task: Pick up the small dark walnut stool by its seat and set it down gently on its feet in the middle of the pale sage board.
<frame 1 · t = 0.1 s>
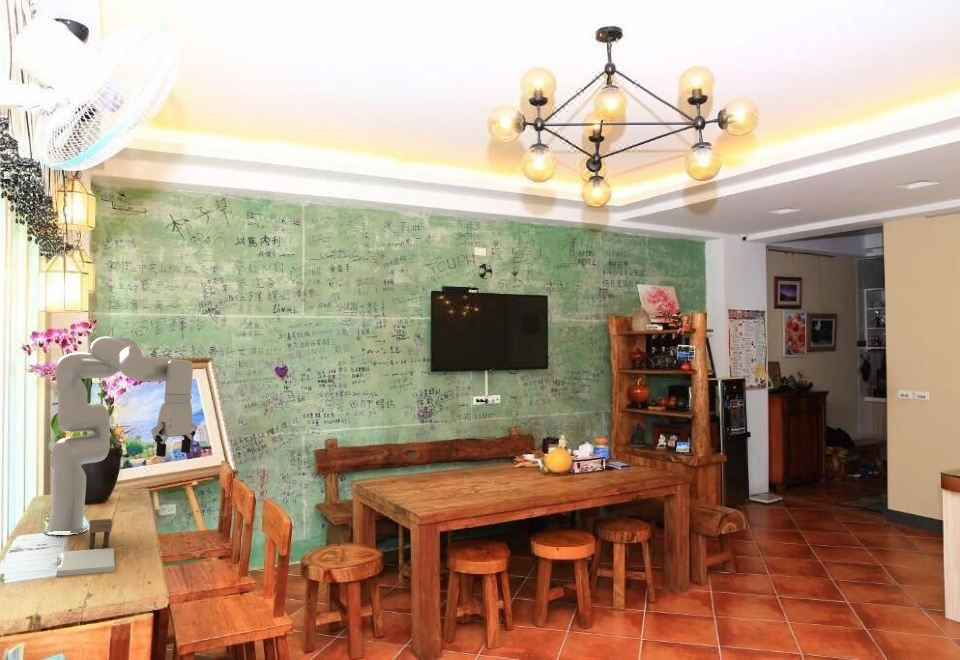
hand: (173, 454, 212), 31 cm above the table, tool pointing down, fingers open, 9 cm apart
board: (86, 563, 199), on the table
stool: (98, 547, 214), on the table
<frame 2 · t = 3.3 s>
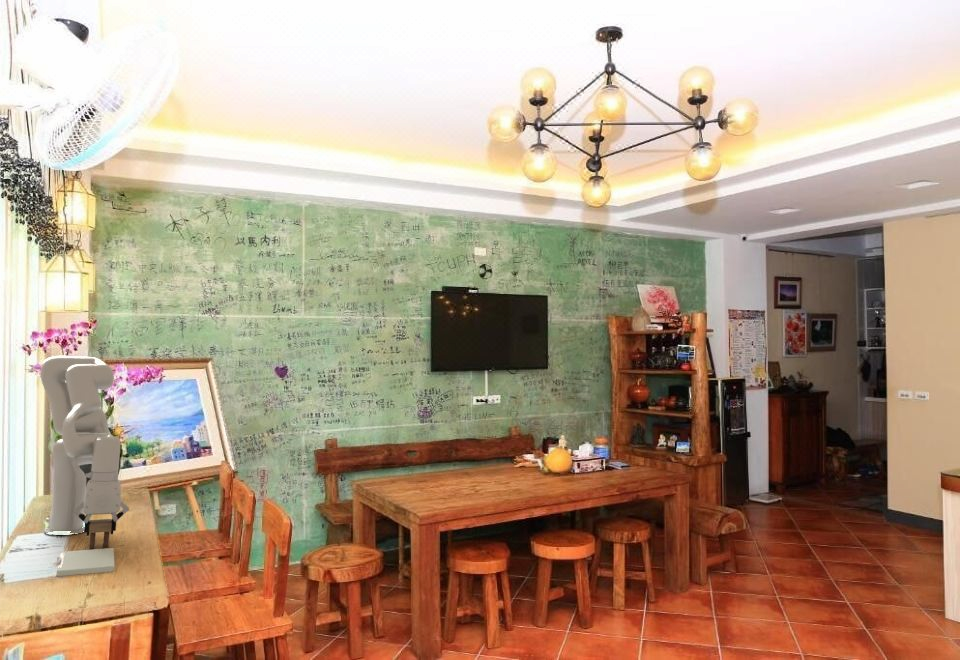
hand: (99, 533, 214), 4 cm above the table, tool pointing down, fingers closed on stool, 6 cm apart
stool: (98, 547, 214), on the table, touching gripper
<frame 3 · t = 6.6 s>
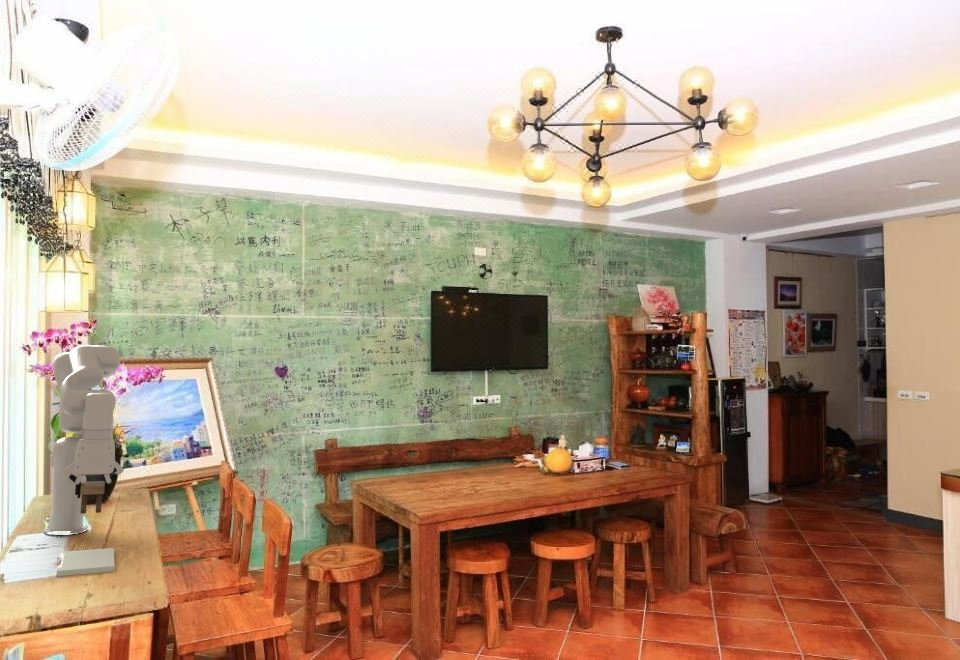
hand: (92, 496, 199), 20 cm above the table, tool pointing down, fingers closed on stool, 6 cm apart
stool: (90, 511, 199), point 15 cm above the table, touching gripper
when the fingers open (7 cm above the table, at t = 9.8 s): stool drops 1 cm, resting on board.
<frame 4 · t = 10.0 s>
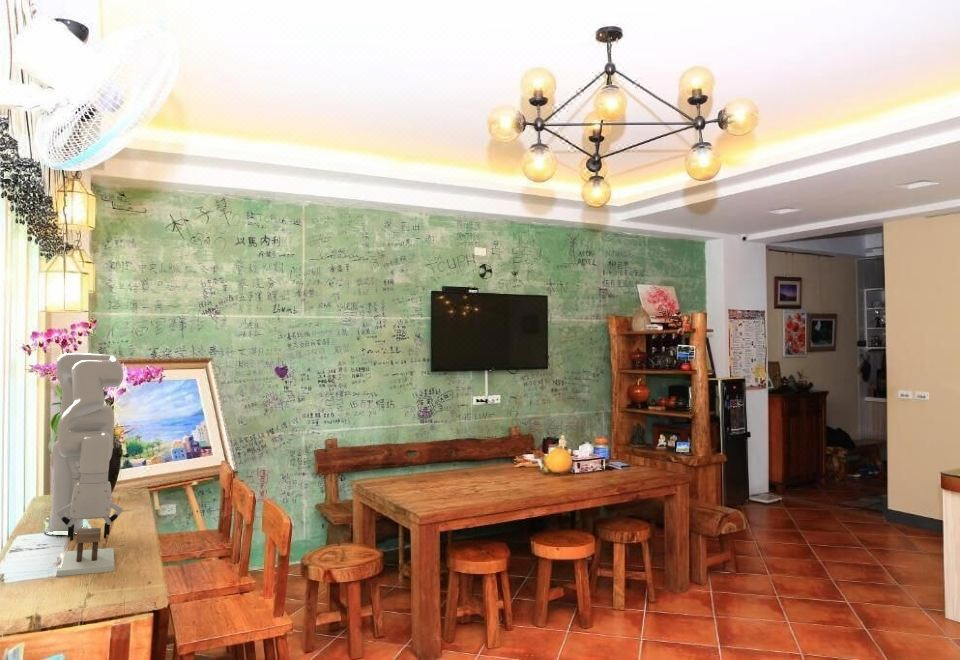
hand: (88, 538, 199), 7 cm above the table, tool pointing down, fingers open, 8 cm apart
stool: (86, 558, 199), point 1 cm above the table, touching board
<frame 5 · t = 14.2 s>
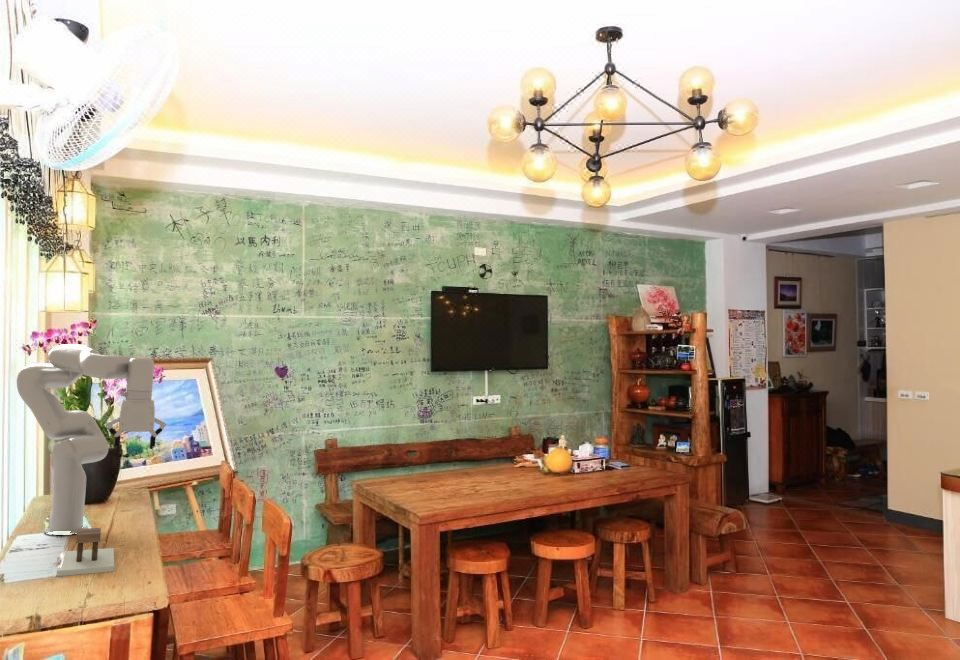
hand: (134, 448, 222), 30 cm above the table, tool pointing down, fingers open, 9 cm apart
nothing on the table moved.
at the end: stool inside the target area on the board (0.1 cm from its centre), point 1.5 cm above the board's base; stool tilted 0°; the gripper is holding nothing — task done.
